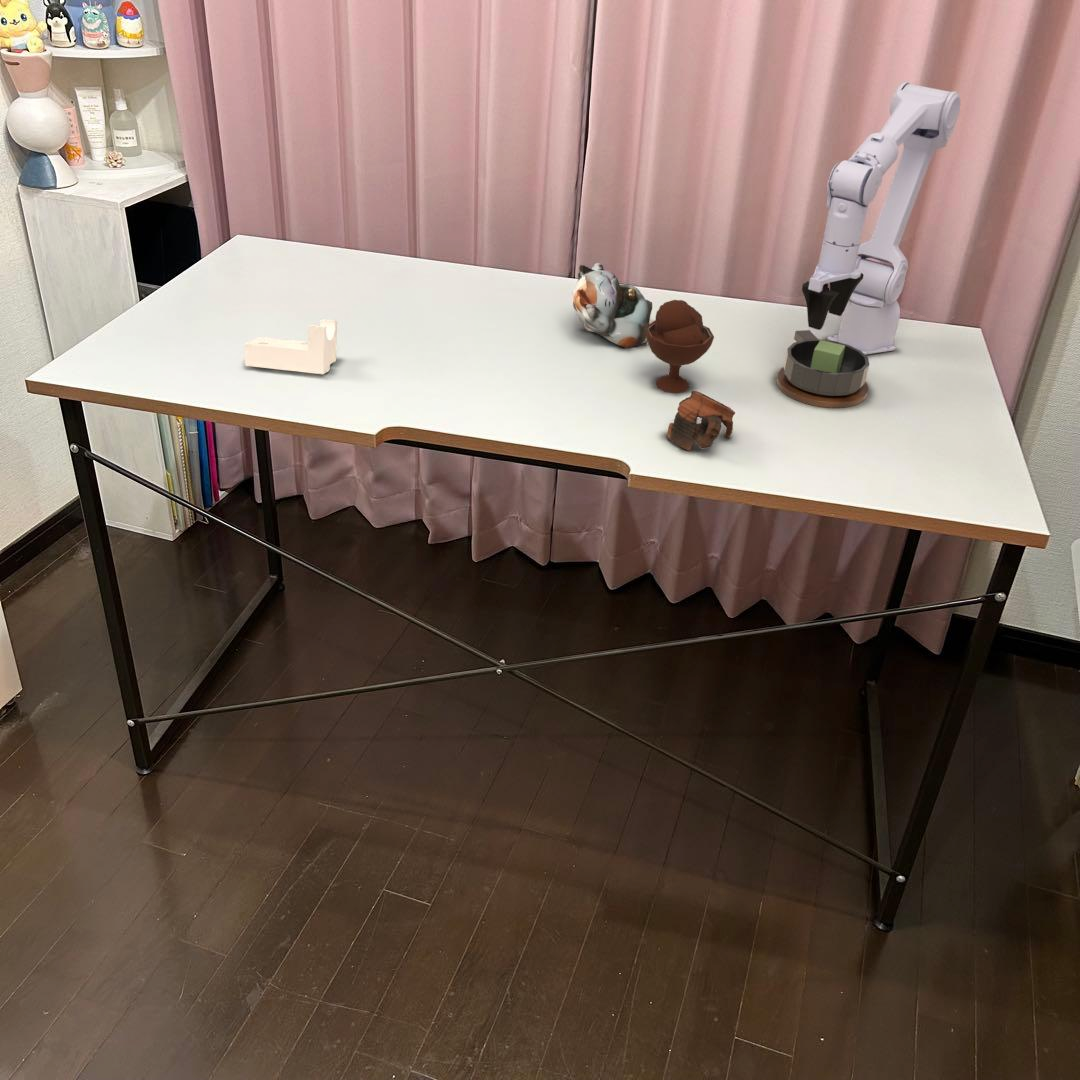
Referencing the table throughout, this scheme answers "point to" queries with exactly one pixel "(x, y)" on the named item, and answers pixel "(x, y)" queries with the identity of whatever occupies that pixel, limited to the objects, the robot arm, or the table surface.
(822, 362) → the block
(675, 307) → the ice cream bowl
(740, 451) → the table surface
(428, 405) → the table surface
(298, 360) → the bracket
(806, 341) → the grey frying pan
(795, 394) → the lazy susan
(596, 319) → the lucky cat figurine
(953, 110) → the robot arm
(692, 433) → the pottery mug
